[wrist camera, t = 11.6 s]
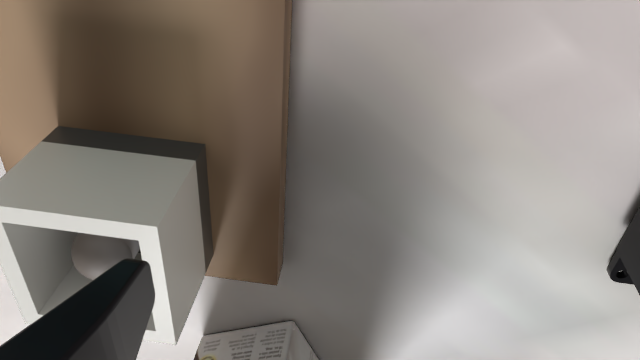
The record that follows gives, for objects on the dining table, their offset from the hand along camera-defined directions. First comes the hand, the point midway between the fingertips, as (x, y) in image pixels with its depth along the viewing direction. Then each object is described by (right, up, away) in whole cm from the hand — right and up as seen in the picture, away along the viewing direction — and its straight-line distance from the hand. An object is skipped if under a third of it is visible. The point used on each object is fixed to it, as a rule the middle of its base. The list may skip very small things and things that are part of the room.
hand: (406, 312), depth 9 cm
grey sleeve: (-9, +2, +13) cm, 16 cm away
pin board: (-9, +8, +11) cm, 16 cm away
